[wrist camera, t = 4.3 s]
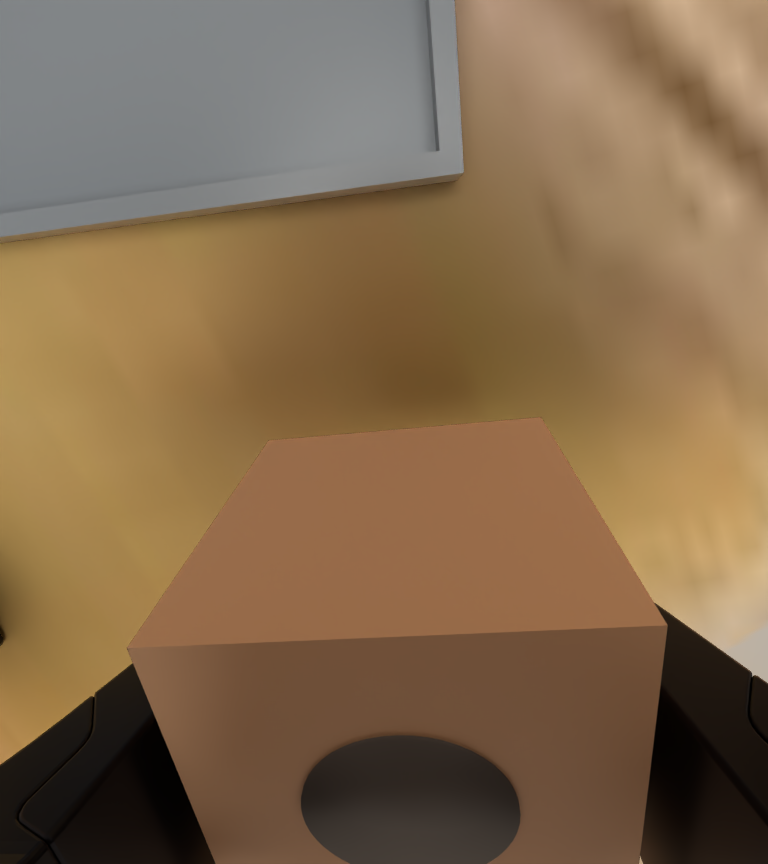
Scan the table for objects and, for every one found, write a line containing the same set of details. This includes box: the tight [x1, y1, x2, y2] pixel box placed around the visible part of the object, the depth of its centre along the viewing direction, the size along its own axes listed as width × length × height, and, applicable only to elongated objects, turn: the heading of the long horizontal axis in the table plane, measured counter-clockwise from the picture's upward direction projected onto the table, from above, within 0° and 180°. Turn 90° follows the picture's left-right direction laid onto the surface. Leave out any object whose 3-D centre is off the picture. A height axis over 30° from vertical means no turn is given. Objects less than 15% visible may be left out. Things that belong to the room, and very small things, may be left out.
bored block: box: [127, 417, 668, 864], centre depth 8 cm, size 5×5×5 cm
